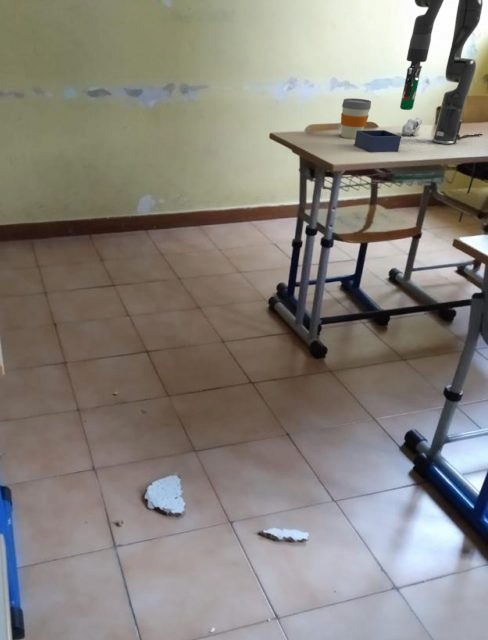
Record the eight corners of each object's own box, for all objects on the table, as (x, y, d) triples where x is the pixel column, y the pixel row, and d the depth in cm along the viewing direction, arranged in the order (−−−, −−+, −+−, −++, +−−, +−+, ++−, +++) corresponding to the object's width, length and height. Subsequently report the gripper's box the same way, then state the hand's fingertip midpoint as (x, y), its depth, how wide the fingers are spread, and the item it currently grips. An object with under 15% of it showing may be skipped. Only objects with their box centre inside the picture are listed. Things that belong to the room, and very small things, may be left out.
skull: (396, 128, 283) (409, 108, 283) (400, 142, 289) (414, 122, 290) (410, 130, 278) (424, 109, 278) (415, 144, 284) (429, 123, 285)
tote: (381, 144, 265) (384, 130, 262) (398, 151, 254) (401, 136, 251) (354, 145, 262) (356, 130, 258) (369, 152, 251) (372, 137, 248)
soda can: (413, 110, 244) (420, 77, 238) (400, 109, 245) (406, 76, 238) (411, 108, 248) (418, 75, 242) (399, 107, 249) (405, 74, 242)
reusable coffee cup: (340, 139, 272) (347, 102, 263) (334, 133, 282) (340, 97, 274) (368, 139, 272) (375, 103, 264) (360, 134, 283) (367, 98, 274)
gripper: (424, 49, 228) (414, 99, 237) (432, 46, 238) (422, 94, 248) (404, 47, 231) (395, 97, 240) (413, 45, 241) (403, 92, 251)
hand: (408, 95), depth 244 cm, fingers closed on soda can, 5 cm apart
